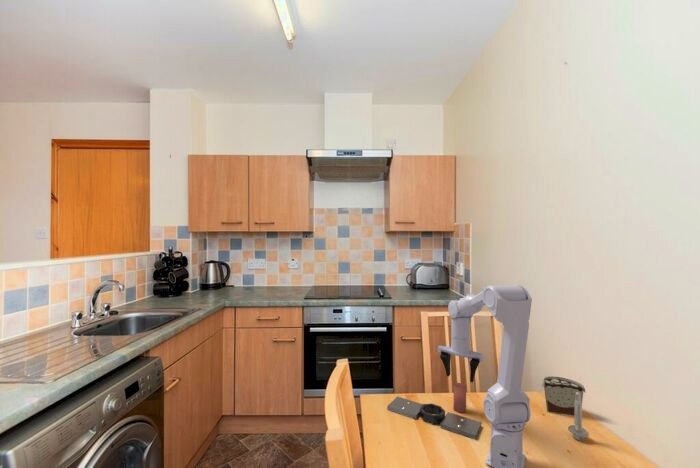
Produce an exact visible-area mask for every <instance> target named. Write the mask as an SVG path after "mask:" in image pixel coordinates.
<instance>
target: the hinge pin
mask: <svg viewBox="0 0 700 468" xmlns="http://www.w3.org/2000/svg"><path fill="white" fill-rule="evenodd" d="M453 411H454V412H455V413H459V414H465V413H467V385H466V384H465V383H461V382H454V383H453Z"/></svg>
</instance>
